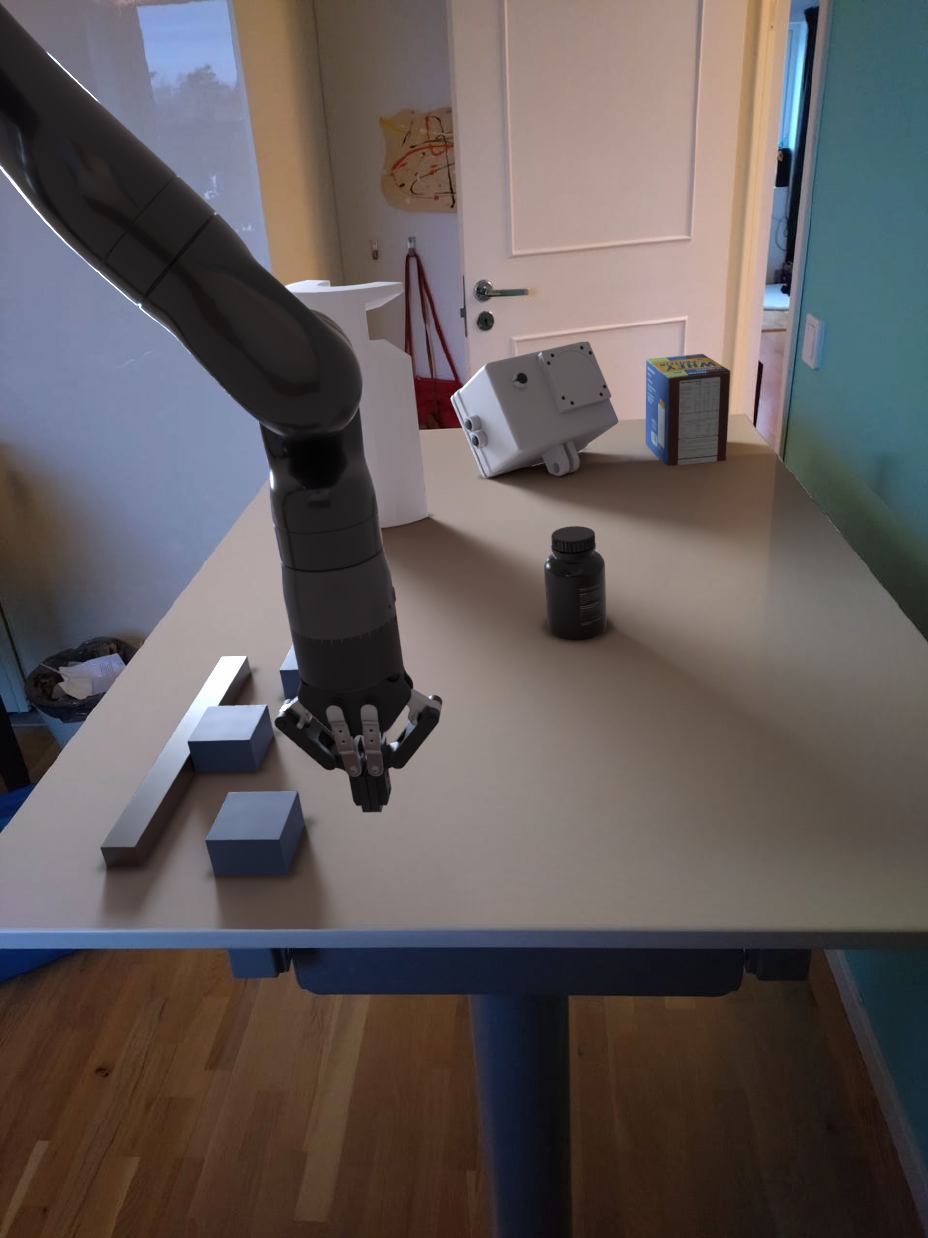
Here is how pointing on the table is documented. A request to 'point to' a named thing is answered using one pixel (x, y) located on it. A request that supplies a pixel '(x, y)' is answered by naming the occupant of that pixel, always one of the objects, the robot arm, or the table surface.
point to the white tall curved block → (379, 396)
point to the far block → (290, 675)
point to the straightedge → (170, 772)
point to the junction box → (535, 410)
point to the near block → (256, 833)
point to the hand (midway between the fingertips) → (374, 805)
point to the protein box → (687, 409)
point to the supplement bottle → (575, 585)
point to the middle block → (231, 739)
